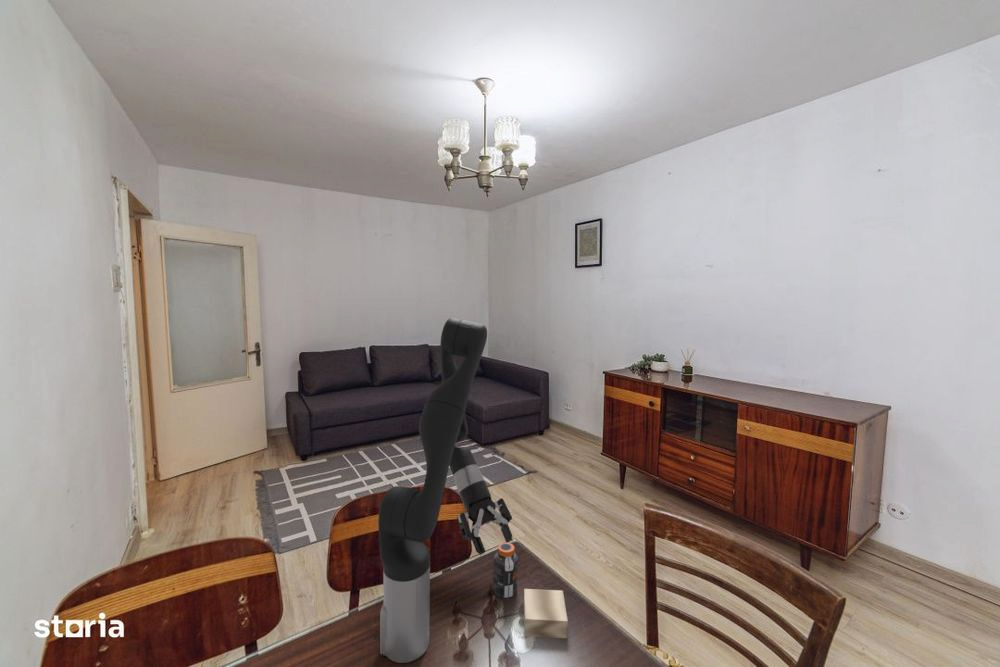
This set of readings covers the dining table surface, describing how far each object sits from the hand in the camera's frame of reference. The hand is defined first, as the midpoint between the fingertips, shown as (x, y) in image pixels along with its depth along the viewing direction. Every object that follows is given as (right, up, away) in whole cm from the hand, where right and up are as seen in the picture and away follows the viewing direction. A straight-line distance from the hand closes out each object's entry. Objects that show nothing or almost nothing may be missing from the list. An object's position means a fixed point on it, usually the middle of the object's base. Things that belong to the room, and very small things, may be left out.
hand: (496, 547), depth 104 cm
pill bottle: (+2, -10, -2) cm, 10 cm away
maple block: (+11, -11, -11) cm, 19 cm away
